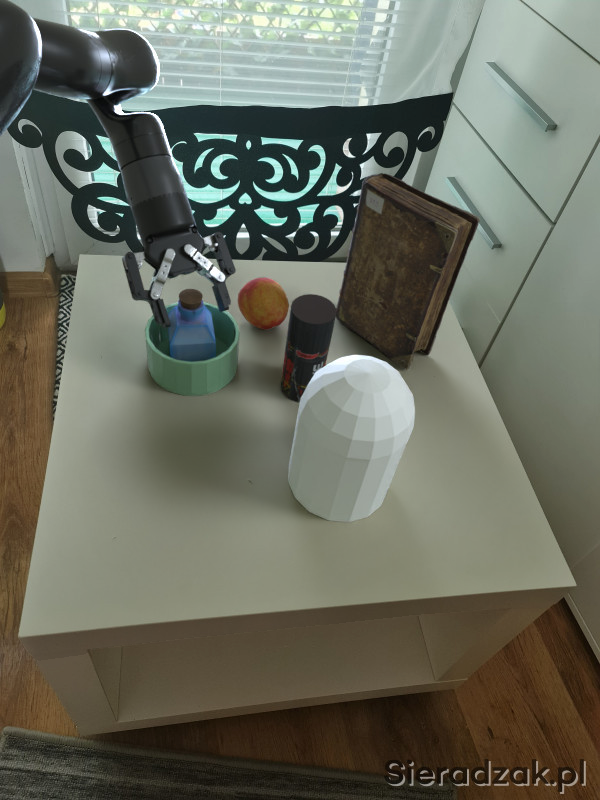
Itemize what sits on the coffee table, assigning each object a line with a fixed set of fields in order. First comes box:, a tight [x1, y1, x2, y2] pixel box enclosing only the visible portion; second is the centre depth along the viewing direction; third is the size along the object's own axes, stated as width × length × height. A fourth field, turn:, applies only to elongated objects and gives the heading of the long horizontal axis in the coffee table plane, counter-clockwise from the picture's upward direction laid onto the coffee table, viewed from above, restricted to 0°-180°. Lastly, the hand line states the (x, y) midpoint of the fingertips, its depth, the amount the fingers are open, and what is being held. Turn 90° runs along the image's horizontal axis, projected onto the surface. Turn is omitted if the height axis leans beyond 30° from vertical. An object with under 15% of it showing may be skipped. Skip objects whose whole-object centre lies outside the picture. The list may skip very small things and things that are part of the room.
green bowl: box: [144, 301, 241, 397], centre depth 89 cm, size 13×13×6 cm
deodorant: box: [279, 293, 337, 403], centre depth 85 cm, size 6×6×15 cm
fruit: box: [237, 276, 290, 331], centre depth 96 cm, size 8×8×8 cm
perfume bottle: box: [168, 288, 216, 362], centre depth 86 cm, size 6×6×12 cm
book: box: [335, 172, 481, 371], centre depth 91 cm, size 17×7×25 cm, turn 42°
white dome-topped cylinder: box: [287, 354, 416, 523], centre depth 73 cm, size 14×13×20 cm
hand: (196, 319), depth 83 cm, fingers open, 8 cm apart
